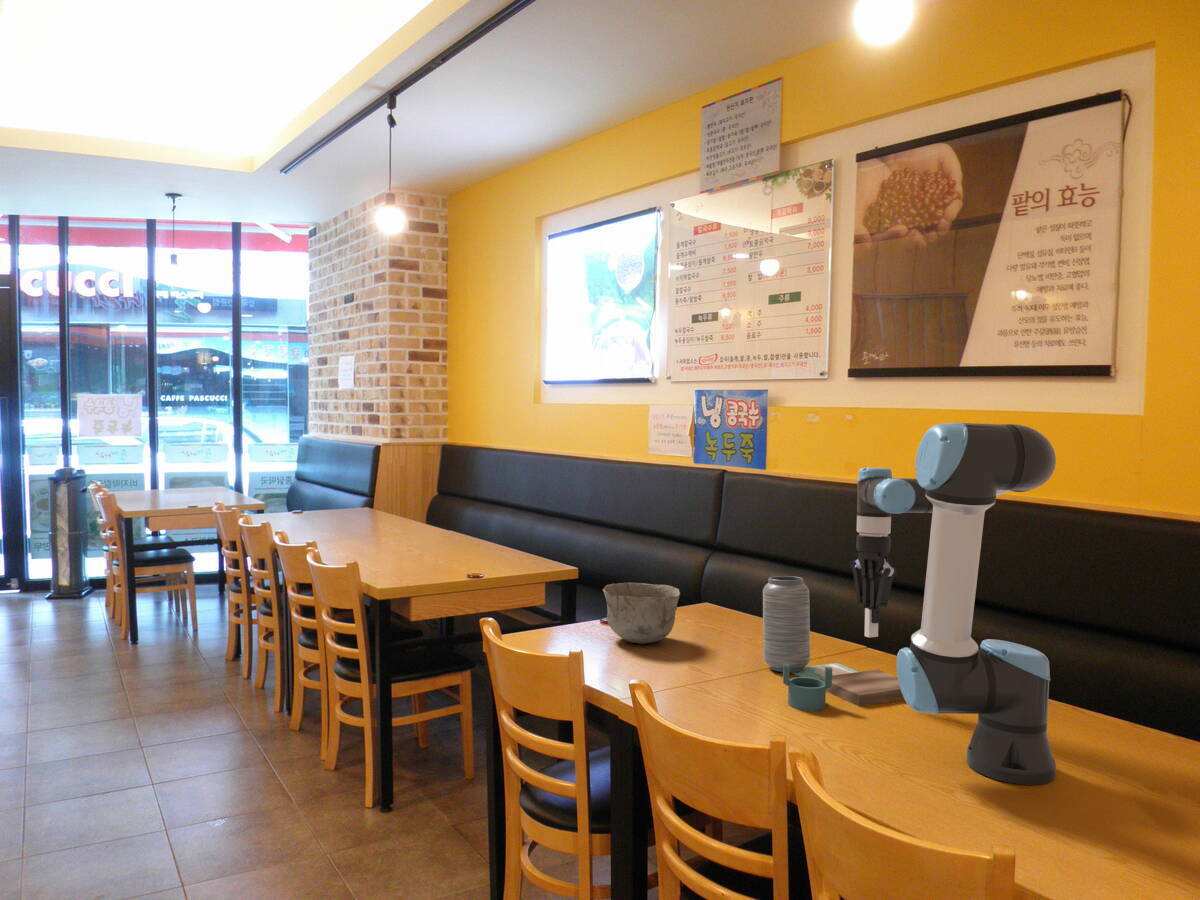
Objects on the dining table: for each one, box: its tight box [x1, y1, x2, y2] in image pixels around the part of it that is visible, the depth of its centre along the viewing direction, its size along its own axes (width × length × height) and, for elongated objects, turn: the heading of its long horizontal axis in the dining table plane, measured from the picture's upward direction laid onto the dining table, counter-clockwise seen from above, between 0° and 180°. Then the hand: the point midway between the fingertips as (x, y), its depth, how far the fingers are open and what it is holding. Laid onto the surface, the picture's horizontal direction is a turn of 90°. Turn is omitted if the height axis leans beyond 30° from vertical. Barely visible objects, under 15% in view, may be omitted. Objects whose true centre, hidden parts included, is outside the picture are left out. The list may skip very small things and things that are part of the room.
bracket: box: [782, 664, 832, 712], centre depth 198 cm, size 9×9×9 cm
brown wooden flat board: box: [819, 669, 905, 707], centre depth 207 cm, size 14×18×2 cm
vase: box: [762, 575, 811, 673], centre depth 225 cm, size 12×12×23 cm
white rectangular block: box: [814, 663, 854, 677], centre depth 218 cm, size 9×6×2 cm, turn 24°
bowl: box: [602, 582, 681, 645], centre depth 249 cm, size 22×22×15 cm
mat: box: [789, 662, 859, 679], centre depth 220 cm, size 14×16×1 cm
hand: (871, 636), depth 203 cm, fingers closed
